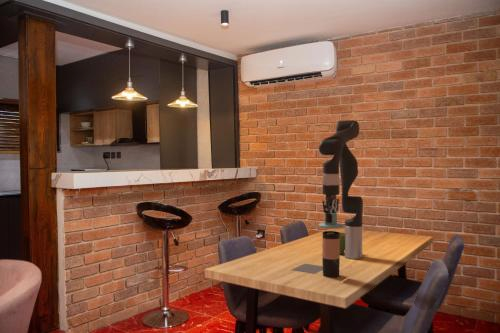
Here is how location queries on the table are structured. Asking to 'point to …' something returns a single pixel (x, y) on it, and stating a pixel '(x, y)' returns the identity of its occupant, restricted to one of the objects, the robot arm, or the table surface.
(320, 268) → the mat
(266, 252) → the table surface
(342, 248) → the plant pot
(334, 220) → the lid
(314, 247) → the table surface
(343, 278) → the table surface
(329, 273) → the travel mug
